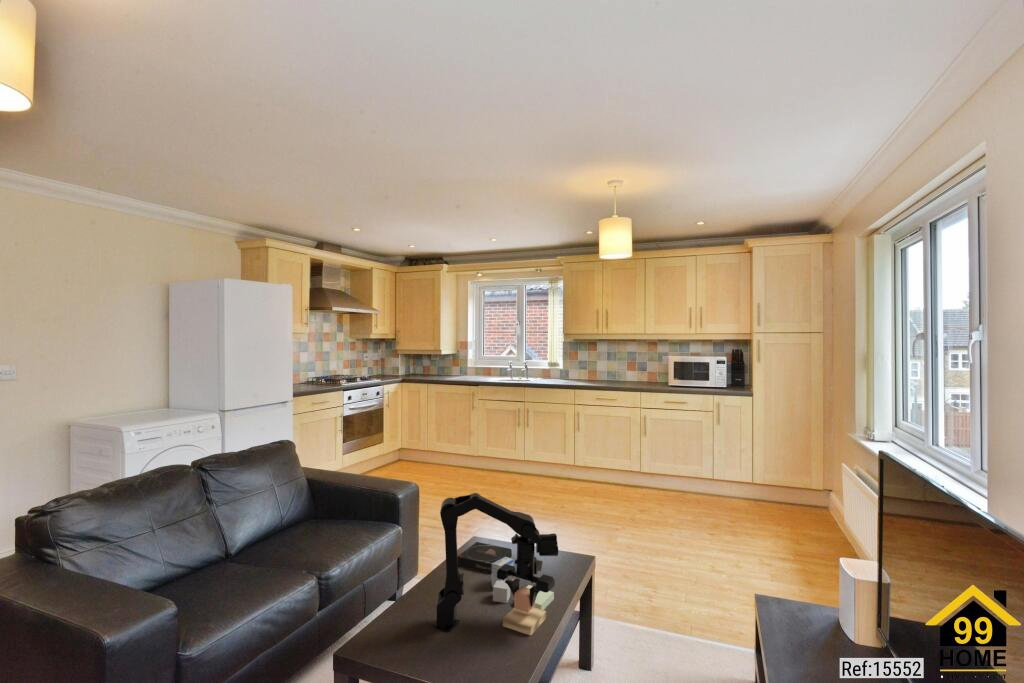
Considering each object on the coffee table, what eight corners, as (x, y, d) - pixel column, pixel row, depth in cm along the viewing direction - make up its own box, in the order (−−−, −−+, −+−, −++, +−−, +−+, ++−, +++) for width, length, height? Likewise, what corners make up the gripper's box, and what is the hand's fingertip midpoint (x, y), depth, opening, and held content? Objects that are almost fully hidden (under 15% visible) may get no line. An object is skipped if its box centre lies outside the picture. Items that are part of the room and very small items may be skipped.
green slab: (541, 612, 169) (541, 605, 169) (515, 604, 174) (515, 597, 174) (553, 599, 177) (553, 592, 177) (528, 591, 182) (528, 584, 182)
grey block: (506, 603, 174) (506, 588, 174) (492, 601, 176) (493, 586, 176) (510, 596, 179) (510, 582, 179) (496, 594, 181) (497, 580, 180)
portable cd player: (511, 557, 211) (511, 548, 211) (493, 575, 196) (493, 564, 196) (477, 550, 218) (477, 541, 218) (457, 566, 203) (457, 556, 203)
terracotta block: (528, 612, 159) (528, 597, 159) (514, 608, 162) (514, 592, 162) (535, 605, 164) (535, 590, 164) (521, 601, 166) (521, 586, 166)
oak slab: (530, 635, 156) (530, 627, 155) (502, 626, 160) (502, 618, 160) (546, 618, 165) (546, 611, 165) (519, 610, 170) (519, 602, 170)
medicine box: (500, 590, 183) (500, 566, 183) (491, 586, 186) (491, 563, 186) (513, 582, 190) (513, 559, 190) (504, 578, 192) (504, 555, 192)
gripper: (562, 553, 165) (561, 600, 165) (512, 541, 174) (511, 585, 174) (547, 566, 155) (546, 616, 155) (496, 552, 165) (495, 600, 165)
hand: (524, 603), depth 163 cm, fingers closed on terracotta block, 5 cm apart
